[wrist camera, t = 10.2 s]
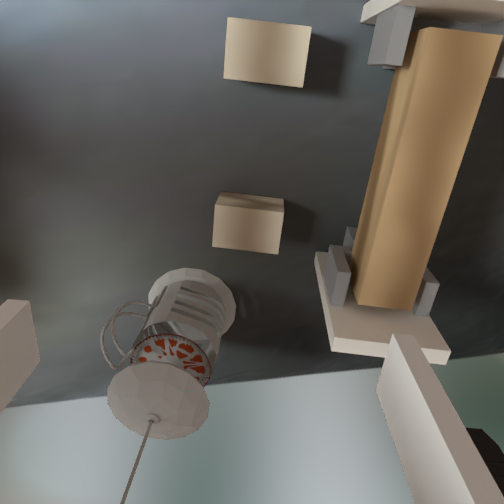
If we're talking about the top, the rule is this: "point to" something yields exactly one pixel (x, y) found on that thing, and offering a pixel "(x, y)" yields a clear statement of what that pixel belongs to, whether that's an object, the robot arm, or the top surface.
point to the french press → (171, 357)
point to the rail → (418, 161)
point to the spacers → (271, 72)
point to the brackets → (338, 257)
